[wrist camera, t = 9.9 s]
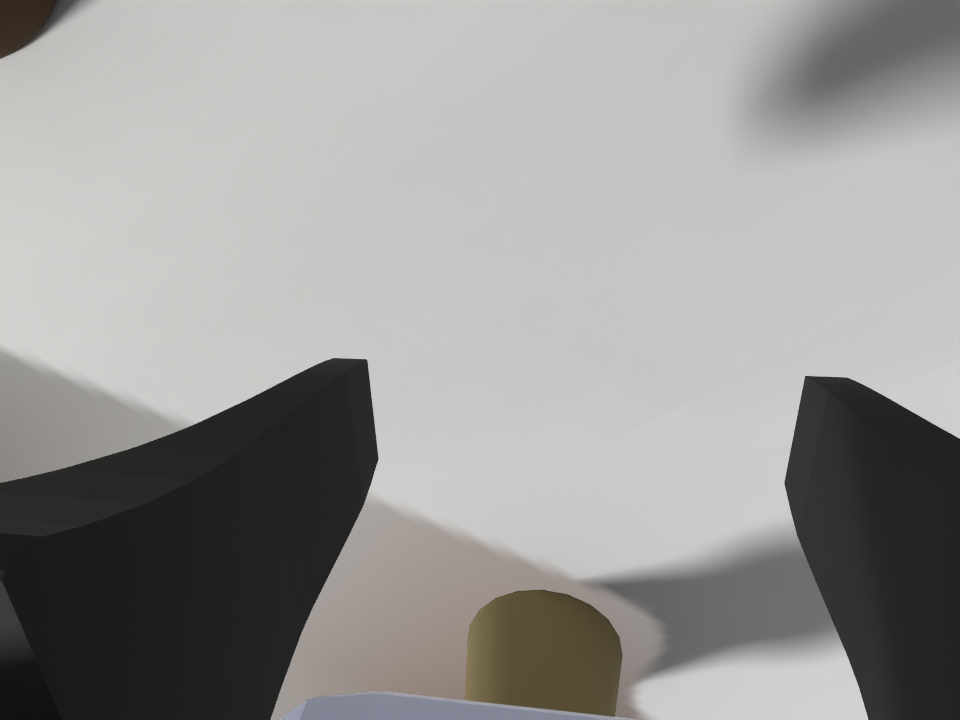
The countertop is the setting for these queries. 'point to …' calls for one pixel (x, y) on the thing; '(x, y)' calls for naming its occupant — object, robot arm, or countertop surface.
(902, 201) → the countertop surface
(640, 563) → the countertop surface
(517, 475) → the countertop surface
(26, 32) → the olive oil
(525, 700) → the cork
